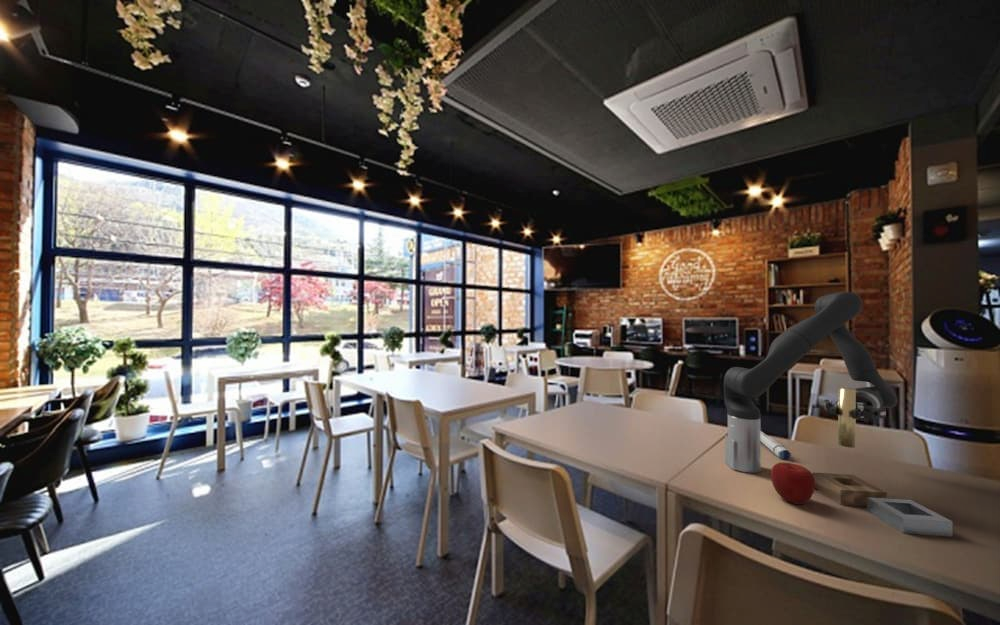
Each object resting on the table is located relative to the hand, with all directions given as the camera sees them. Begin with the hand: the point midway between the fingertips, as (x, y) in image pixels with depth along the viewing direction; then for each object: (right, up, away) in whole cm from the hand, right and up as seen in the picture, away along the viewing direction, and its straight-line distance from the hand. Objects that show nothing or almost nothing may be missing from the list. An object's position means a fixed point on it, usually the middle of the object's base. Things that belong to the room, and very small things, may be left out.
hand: (844, 413), depth 103 cm
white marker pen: (+7, -25, +40) cm, 47 cm away
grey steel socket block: (+5, -24, -12) cm, 27 cm away
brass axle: (+2, -10, +2) cm, 10 cm away
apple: (-15, -24, -1) cm, 28 cm away
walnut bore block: (+2, -24, +2) cm, 24 cm away
